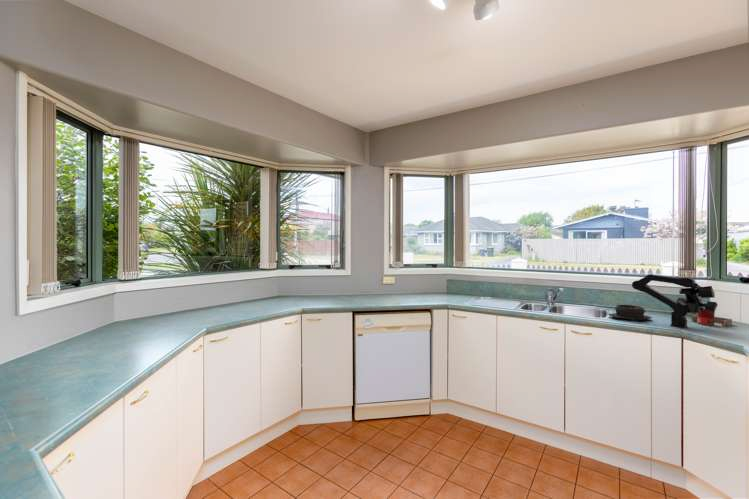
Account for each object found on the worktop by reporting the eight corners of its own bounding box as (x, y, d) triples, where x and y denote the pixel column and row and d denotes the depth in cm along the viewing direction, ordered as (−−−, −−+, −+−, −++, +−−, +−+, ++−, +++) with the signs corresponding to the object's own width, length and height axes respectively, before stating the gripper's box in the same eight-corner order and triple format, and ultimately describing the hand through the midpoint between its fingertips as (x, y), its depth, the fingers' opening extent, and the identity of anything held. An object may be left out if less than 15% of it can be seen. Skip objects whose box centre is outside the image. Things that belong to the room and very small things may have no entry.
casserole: (640, 316, 243) (640, 304, 243) (659, 322, 225) (659, 309, 225) (602, 315, 246) (602, 303, 246) (617, 321, 228) (617, 308, 228)
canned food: (711, 326, 215) (711, 308, 214) (694, 323, 222) (695, 306, 222) (716, 325, 218) (716, 307, 218) (700, 322, 225) (700, 305, 225)
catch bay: (723, 326, 214) (723, 321, 214) (691, 321, 228) (691, 316, 228) (731, 324, 219) (731, 319, 219) (700, 319, 233) (700, 314, 233)
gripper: (668, 304, 217) (676, 319, 222) (707, 309, 200) (715, 326, 206) (675, 290, 220) (683, 306, 226) (713, 295, 204) (721, 312, 209)
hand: (699, 313), depth 216 cm, fingers closed
